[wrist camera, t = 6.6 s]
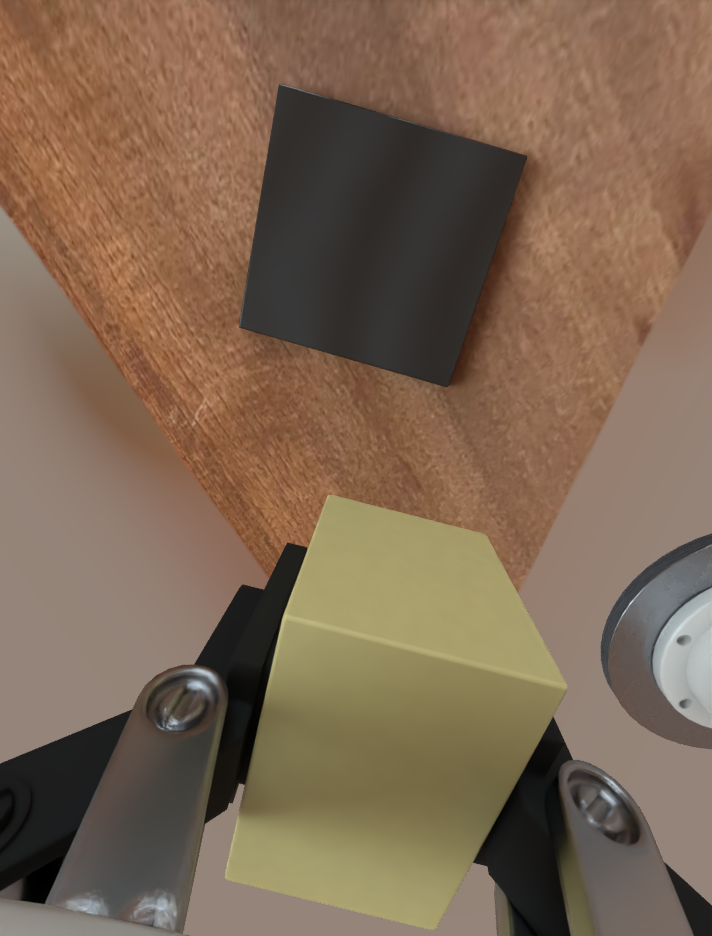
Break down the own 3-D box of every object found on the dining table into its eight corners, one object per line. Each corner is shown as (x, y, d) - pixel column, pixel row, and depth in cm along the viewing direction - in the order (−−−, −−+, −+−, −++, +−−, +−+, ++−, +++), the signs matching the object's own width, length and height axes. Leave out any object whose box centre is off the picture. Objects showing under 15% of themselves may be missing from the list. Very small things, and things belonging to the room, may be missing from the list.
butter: (486, 533, 9) (571, 688, 5) (416, 711, 11) (436, 932, 7) (328, 492, 9) (282, 615, 5) (283, 677, 11) (222, 880, 7)
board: (521, 164, 19) (528, 155, 18) (445, 386, 22) (448, 387, 21) (284, 95, 19) (278, 82, 18) (244, 328, 22) (238, 327, 21)
